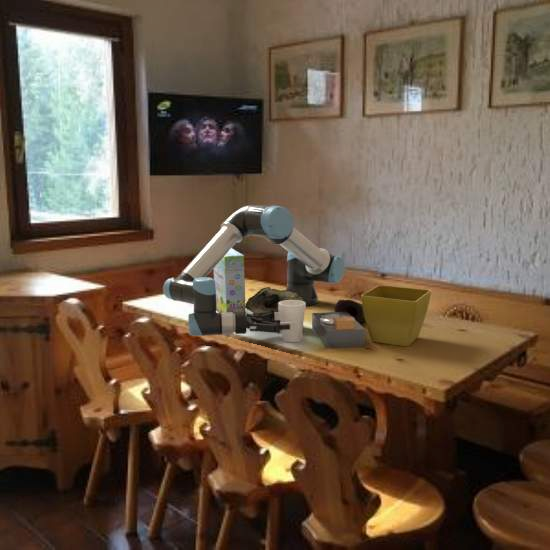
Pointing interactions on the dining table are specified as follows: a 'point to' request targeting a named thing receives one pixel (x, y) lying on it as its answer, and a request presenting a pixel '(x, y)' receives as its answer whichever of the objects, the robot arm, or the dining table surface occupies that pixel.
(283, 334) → the foam cup
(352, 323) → the block
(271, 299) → the moss-covered rock
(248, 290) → the dining table surface
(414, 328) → the flower pot
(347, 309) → the pipe
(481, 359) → the dining table surface
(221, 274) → the snack box
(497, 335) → the dining table surface
